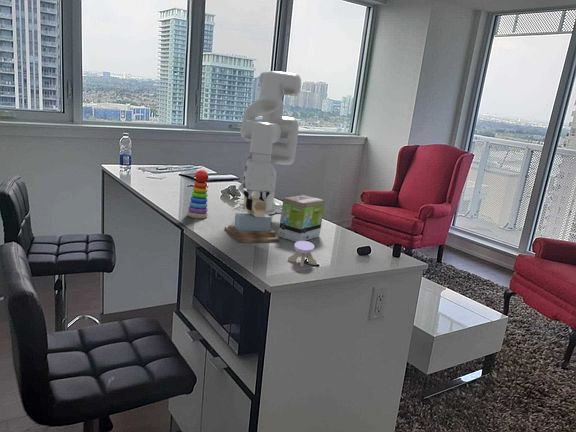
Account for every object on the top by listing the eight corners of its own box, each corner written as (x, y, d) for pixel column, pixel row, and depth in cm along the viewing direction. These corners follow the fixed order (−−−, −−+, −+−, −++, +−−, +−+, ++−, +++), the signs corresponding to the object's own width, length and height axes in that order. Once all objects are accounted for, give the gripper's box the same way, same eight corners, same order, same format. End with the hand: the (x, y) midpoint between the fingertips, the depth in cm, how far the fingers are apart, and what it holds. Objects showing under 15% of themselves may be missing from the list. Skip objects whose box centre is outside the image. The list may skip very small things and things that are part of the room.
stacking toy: (190, 219, 183) (194, 171, 179) (184, 214, 190) (188, 167, 186) (210, 219, 187) (214, 172, 183) (203, 214, 193) (207, 168, 189)
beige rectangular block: (264, 216, 164) (266, 202, 163) (255, 216, 163) (256, 202, 162) (251, 208, 175) (253, 195, 174) (243, 208, 173) (244, 195, 172)
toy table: (292, 255, 153) (295, 238, 152) (319, 261, 151) (322, 244, 150) (284, 264, 144) (286, 246, 143) (312, 270, 142) (315, 251, 140)
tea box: (300, 243, 168) (306, 203, 165) (277, 236, 173) (282, 197, 170) (320, 236, 181) (325, 199, 178) (297, 230, 186) (302, 193, 183)
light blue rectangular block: (264, 231, 175) (266, 214, 173) (269, 234, 171) (271, 217, 169) (233, 230, 170) (235, 213, 168) (237, 234, 166) (239, 216, 164)
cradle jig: (261, 229, 181) (262, 223, 180) (279, 241, 167) (280, 235, 166) (224, 229, 174) (225, 222, 173) (239, 242, 160) (240, 235, 160)
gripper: (241, 158, 157) (235, 211, 161) (285, 161, 165) (279, 212, 169) (233, 155, 164) (228, 206, 168) (277, 158, 171) (271, 207, 175)
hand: (254, 209), depth 168 cm, fingers closed on beige rectangular block, 3 cm apart
